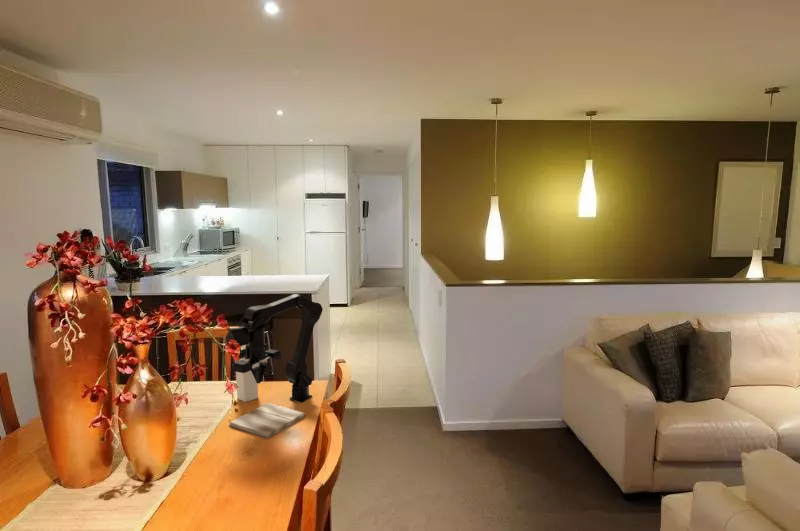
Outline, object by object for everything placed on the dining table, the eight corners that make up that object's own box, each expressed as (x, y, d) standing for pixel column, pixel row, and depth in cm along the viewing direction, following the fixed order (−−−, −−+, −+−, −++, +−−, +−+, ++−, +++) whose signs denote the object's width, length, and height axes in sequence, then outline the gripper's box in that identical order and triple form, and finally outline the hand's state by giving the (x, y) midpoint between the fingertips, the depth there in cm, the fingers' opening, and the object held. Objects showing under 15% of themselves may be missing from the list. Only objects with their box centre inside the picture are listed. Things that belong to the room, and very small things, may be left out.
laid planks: (255, 412, 170) (255, 409, 170) (291, 423, 162) (291, 420, 161) (230, 425, 160) (230, 422, 160) (267, 437, 152) (267, 434, 152)
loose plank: (267, 405, 176) (267, 402, 176) (303, 415, 167) (303, 412, 167) (255, 412, 171) (255, 409, 171) (292, 422, 162) (292, 419, 162)
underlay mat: (268, 405, 177) (268, 404, 177) (305, 415, 168) (305, 415, 168) (228, 426, 161) (228, 425, 161) (267, 438, 152) (267, 438, 152)
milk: (244, 402, 180) (241, 348, 177) (237, 398, 184) (233, 345, 181) (258, 397, 184) (255, 344, 181) (250, 393, 188) (248, 341, 185)
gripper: (259, 332, 178) (261, 371, 180) (220, 345, 162) (222, 387, 164) (281, 336, 173) (282, 376, 175) (242, 350, 157) (244, 393, 159)
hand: (258, 383), depth 168 cm, fingers closed
